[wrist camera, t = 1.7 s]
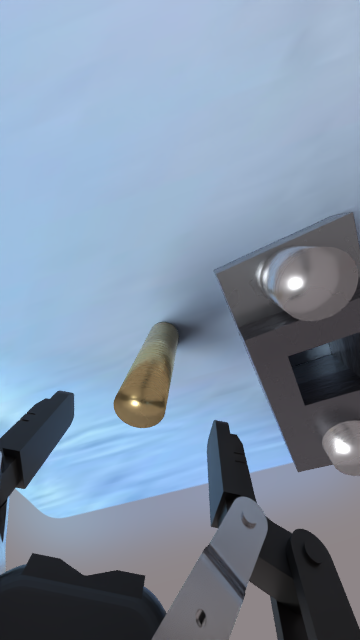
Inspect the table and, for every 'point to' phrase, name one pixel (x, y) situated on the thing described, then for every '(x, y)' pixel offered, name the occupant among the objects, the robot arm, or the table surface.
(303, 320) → the knobbed metal plate
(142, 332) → the table surface
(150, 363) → the brass pin
